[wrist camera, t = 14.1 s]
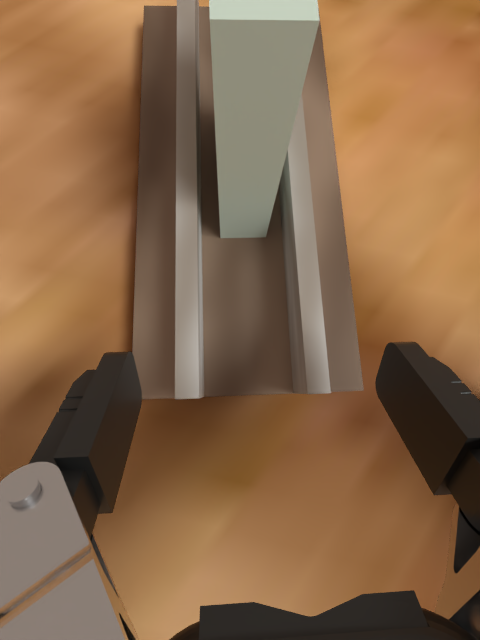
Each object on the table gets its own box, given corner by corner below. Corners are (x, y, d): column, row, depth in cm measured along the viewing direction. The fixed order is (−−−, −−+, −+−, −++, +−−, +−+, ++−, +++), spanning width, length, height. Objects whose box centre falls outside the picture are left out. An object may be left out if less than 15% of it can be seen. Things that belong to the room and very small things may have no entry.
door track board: (138, 399, 18) (109, 401, 13) (149, 30, 23) (131, -55, 19) (352, 390, 18) (392, 390, 14) (312, 31, 24) (332, -50, 19)
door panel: (220, 238, 18) (210, 19, 7) (217, 119, 20) (204, -197, 9) (265, 237, 18) (319, 20, 8) (258, 120, 20) (294, -193, 9)
